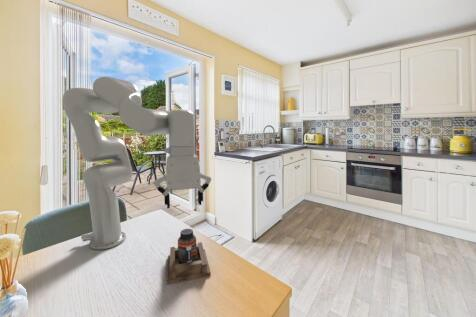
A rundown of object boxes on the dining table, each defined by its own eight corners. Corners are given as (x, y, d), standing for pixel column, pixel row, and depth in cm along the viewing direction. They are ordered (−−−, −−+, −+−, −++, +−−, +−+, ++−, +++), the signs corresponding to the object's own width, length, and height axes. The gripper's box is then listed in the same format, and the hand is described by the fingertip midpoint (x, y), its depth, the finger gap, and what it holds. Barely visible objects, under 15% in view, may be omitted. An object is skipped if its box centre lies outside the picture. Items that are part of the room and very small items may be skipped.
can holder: (166, 284, 62) (166, 272, 61) (168, 258, 74) (167, 247, 73) (210, 275, 65) (210, 263, 65) (204, 251, 78) (204, 241, 77)
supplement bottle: (194, 269, 67) (193, 236, 65) (176, 269, 67) (174, 236, 65) (198, 257, 72) (197, 227, 71) (181, 257, 73) (180, 226, 71)
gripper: (150, 154, 58) (154, 212, 60) (212, 152, 63) (213, 206, 65) (153, 151, 65) (156, 203, 68) (208, 149, 70) (209, 198, 73)
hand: (184, 205), depth 67 cm, fingers open, 9 cm apart
